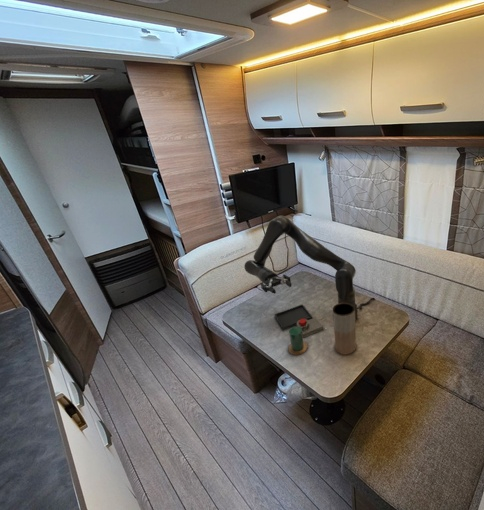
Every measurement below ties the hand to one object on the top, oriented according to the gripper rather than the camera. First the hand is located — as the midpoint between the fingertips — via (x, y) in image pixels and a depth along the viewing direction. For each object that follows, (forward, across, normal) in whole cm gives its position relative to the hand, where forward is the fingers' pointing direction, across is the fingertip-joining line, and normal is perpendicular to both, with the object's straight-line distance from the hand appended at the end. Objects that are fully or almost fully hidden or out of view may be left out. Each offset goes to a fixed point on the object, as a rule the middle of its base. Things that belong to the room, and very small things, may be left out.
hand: (282, 288), depth 135 cm
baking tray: (-10, +9, +28) cm, 31 cm away
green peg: (+12, -2, +27) cm, 30 cm away
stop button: (+2, +7, +24) cm, 26 cm away
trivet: (+12, -2, +28) cm, 31 cm away
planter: (+27, +15, +28) cm, 42 cm away
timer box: (+4, +10, +28) cm, 30 cm away
